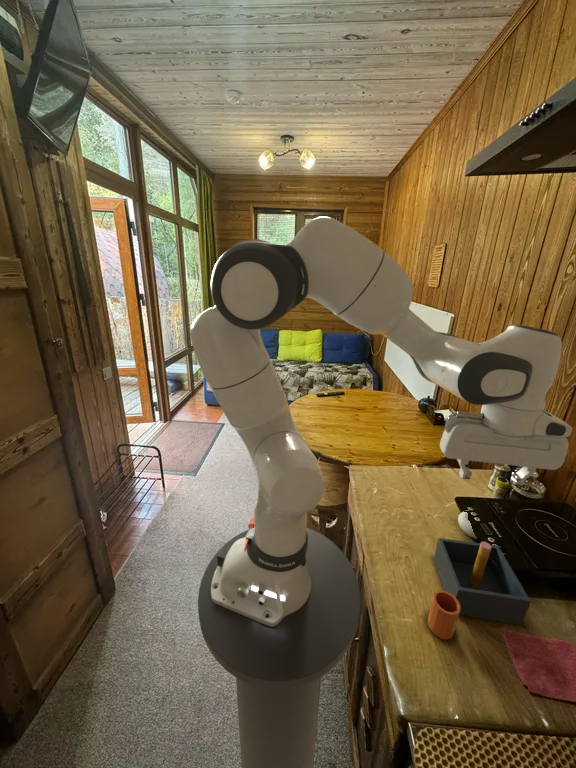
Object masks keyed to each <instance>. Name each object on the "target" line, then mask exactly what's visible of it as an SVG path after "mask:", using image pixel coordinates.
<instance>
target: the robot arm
mask: <svg viewBox="0 0 576 768" xmlns="http://www.w3.org/2000/svg"><path fill="white" fill-rule="evenodd" d="M210 293H211V298H212V301H213V304H214V305H213V306H211V307H208V308H207V309H205V310H203V311H202V312H201V313H199V314H198V316H196V318H195V319H194V320H193V322H192V323H191V325H190V330H189V338H190V340H191V345H192V347H193V351H194V355H195V356H196V359H197V362H198V364H199V367H200V370H201V371H202V373H203V376H204V378H205V380H206V382H207V383H208V385H209V387H210V390H211V391H212V393H213V395H214V397H215V399H216V401H217V403H218V404H219V406H220V408H221V410H222V412H223V413H224V415H225V418H226V419H227V421H228V423H229V425H230V426H231V427H232V428H233V429H234V430H235V432H236V433H237V434H238V436H239V437H240V439H241V441H242V442H243V444H244V446H245V448H246V449H247V452H248V454H249V457H250V459H251V462H252V465H253V468H254V472H255V476H256V482H257V499H256V500H255V502H254V505H253V517H252V518H250V519H249V523H248V525H247V527H248V530H249V529H250V530H249V531H248V532H247V535H246V537H244V538H241V539H238V540H237V541H236V542H235V543H234V544H233V545H232V544H228V543H227V542H225V543H224V544H223V545H222V547H223V548H222V549H221V551H220V552H219V554H218V555H217V561H218V566H217V569H216V571H215V574H214V576H213V580H212V584H211V599H212V602H214V603H215V604H218V605H220V606H222V607H225V608H227V609H229V610H232V611H234V612H237V613H239V614H241V615H244V616H246V617H248V618H251V619H253V620H256V621H258V622H260V623H263V624H265V625H268V626H270V627H274V626H276V625H277V624H279V623H280V622H281V620H282V619H283V618H284V617H285V616H287V615H289V614H291V613H293V612H295V611H297V610H298V609H299V608H301V607H302V606H303V605H304V603H305V602H306V601H307V599H308V597H309V595H310V591H311V579H310V576H309V573H308V569H307V562H306V561H307V557H308V534H307V531H306V529H307V528H308V513H310V512H311V511H313V510H314V509H315V508H316V507H317V506H318V505H319V504H320V502H321V501H322V499H323V498H324V494H325V490H326V483H325V479H324V475H323V472H322V469H321V466H320V463H319V461H318V458H317V457H316V456H315V454H314V452H313V451H312V449H311V448H310V447H309V445H308V444H307V442H306V440H305V439H304V437H303V436H302V434H301V432H300V431H299V429H298V427H297V425H296V422H295V420H294V418H293V415H292V413H291V409H290V406H289V403H288V397H287V395H286V392H285V390H284V387H283V385H282V383H281V381H280V378H279V376H278V374H277V371H276V369H275V366H274V365H273V362H272V360H271V358H270V355H269V353H268V351H267V348H266V346H265V343H264V341H263V337H262V333H261V329H265V328H267V327H271V326H272V325H274V324H276V323H277V322H278V321H280V320H281V319H282V318H284V317H286V316H287V314H288V313H290V312H291V311H292V310H293V309H295V308H296V307H297V306H298V305H300V304H301V303H303V301H305V300H306V298H308V299H310V300H313V301H315V302H316V303H318V304H320V305H321V306H322V307H324V308H325V309H327V310H328V311H330V313H332V314H333V315H335V316H336V317H338V318H339V319H341V320H342V321H344V322H346V323H347V324H348V325H351V326H352V327H354V328H357V329H359V330H360V331H362V332H365V333H366V334H369V335H381V336H383V337H385V338H386V339H388V341H390V342H391V343H393V344H394V345H396V346H397V347H398V348H400V349H401V350H403V352H405V353H406V354H407V355H408V356H409V358H411V360H412V362H413V364H414V366H415V368H416V370H417V372H418V374H420V376H421V377H422V378H423V379H425V380H426V381H428V382H430V383H432V384H434V385H437V386H438V387H440V388H442V389H444V390H445V391H447V392H448V393H451V395H453V396H455V397H457V398H459V399H460V400H462V401H464V402H467V403H469V404H472V405H476V406H481V409H480V411H479V412H467V411H466V412H465V411H462V410H461V411H456V412H454V413H451V414H449V415H448V416H447V417H446V419H445V423H444V430H443V433H442V435H441V438H440V440H439V441H440V442H439V449H440V450H441V453H443V455H444V456H445V457H446V459H451V460H456V461H457V462H458V465H459V467H460V468H459V473H458V475H459V476H460V478H461V479H463V480H471V478H472V475H473V472H472V470H471V469H470V468H469V466H467V465H469V462H477V463H478V462H479V463H487V464H496V465H505V466H513V467H514V466H515V467H521V468H520V469H519V470H518V471H517V472H511V476H510V479H509V481H510V482H511V483H512V485H513V486H521V487H523V486H524V484H525V481H526V480H527V479H528V478H530V477H531V476H533V474H535V473H536V471H537V469H539V470H549V471H556V470H558V469H559V468H561V467H562V466H563V464H564V462H565V460H566V457H567V454H568V449H569V446H570V445H569V440H568V437H570V436H571V434H572V433H573V426H571V425H570V424H569V423H567V422H566V421H564V420H562V419H561V418H559V417H558V416H556V415H554V414H553V413H550V412H548V411H546V410H545V408H546V396H547V393H548V392H549V390H550V388H551V387H552V386H553V384H554V381H555V380H556V376H557V372H558V369H559V366H560V362H561V355H562V349H563V348H562V347H563V343H562V337H561V336H560V335H559V334H557V333H556V332H554V331H551V330H547V329H543V328H540V327H539V328H538V327H534V326H529V325H525V324H511V325H509V326H507V328H506V329H505V330H504V331H503V332H502V333H500V334H498V335H496V336H494V337H492V338H490V339H487V340H485V341H480V342H478V343H477V342H475V341H471V340H468V339H464V338H461V337H459V336H456V335H454V334H451V333H447V332H441V331H437V330H435V329H433V328H432V327H431V326H430V325H429V324H428V323H426V322H425V321H424V320H422V318H420V317H419V316H418V315H417V314H416V313H414V312H413V311H412V310H411V309H410V306H411V303H412V301H413V296H414V284H413V280H412V279H411V278H410V276H409V274H408V273H407V272H406V271H405V270H404V269H403V267H402V266H401V265H400V264H399V263H398V262H397V261H396V260H395V259H394V258H393V257H392V256H391V255H389V254H388V253H387V252H386V251H384V250H383V249H382V248H381V247H380V246H379V245H377V244H376V243H375V242H373V241H372V240H370V239H369V238H368V237H366V236H365V235H363V234H362V233H360V232H359V231H357V230H355V229H353V228H351V227H350V226H348V225H346V224H345V223H343V222H341V221H338V220H337V219H335V218H332V217H330V216H318V217H315V218H313V219H311V220H310V221H308V222H307V223H305V224H304V225H303V226H302V227H301V228H300V230H298V232H297V233H296V235H295V236H294V238H293V239H292V240H291V241H290V242H289V243H288V244H275V243H273V242H270V241H267V240H264V239H259V238H251V239H245V240H242V241H240V242H237V243H236V244H234V245H233V246H232V247H229V248H228V249H227V250H225V251H224V252H223V253H222V255H220V257H218V259H217V261H216V263H215V264H214V266H213V269H212V273H211V278H210ZM214 588H217V589H214ZM266 616H269V618H266Z"/></svg>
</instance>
